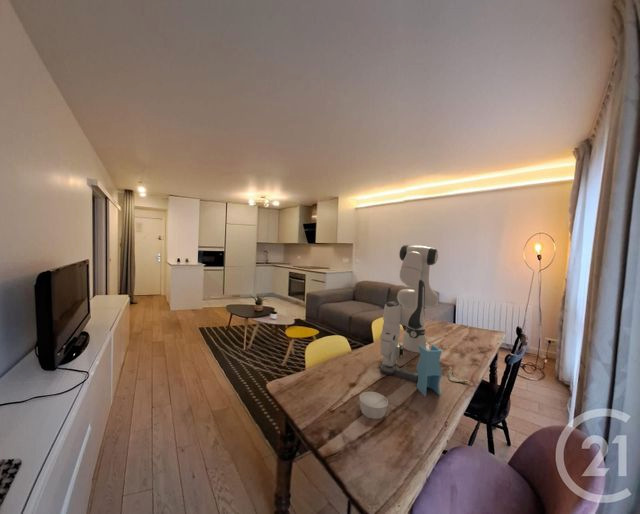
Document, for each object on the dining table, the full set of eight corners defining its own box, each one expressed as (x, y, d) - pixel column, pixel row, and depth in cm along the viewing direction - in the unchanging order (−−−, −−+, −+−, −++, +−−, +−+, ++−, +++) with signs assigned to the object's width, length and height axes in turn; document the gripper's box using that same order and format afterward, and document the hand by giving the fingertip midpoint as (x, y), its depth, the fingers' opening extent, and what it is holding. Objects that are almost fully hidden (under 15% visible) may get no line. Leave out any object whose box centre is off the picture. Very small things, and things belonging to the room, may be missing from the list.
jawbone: (453, 386, 131) (453, 382, 131) (434, 368, 151) (434, 364, 151) (471, 386, 131) (471, 381, 131) (450, 367, 151) (450, 364, 151)
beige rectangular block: (385, 360, 144) (386, 347, 144) (395, 362, 141) (396, 349, 141) (382, 363, 139) (383, 350, 139) (392, 366, 137) (393, 352, 136)
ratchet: (383, 367, 146) (384, 353, 146) (431, 380, 133) (432, 366, 133) (378, 372, 139) (379, 358, 139) (428, 387, 126) (429, 372, 126)
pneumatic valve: (402, 366, 148) (403, 345, 147) (380, 364, 150) (382, 342, 150) (401, 362, 153) (402, 342, 153) (380, 360, 156) (381, 339, 155)
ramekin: (388, 423, 99) (389, 409, 99) (358, 418, 101) (358, 405, 100) (386, 406, 110) (387, 393, 110) (358, 402, 112) (359, 389, 111)
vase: (430, 385, 128) (433, 344, 128) (440, 394, 120) (443, 351, 120) (415, 386, 127) (417, 344, 126) (424, 395, 119) (427, 351, 118)
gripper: (390, 327, 150) (389, 351, 151) (378, 336, 133) (377, 364, 133) (402, 329, 147) (400, 354, 147) (391, 339, 129) (389, 367, 130)
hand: (389, 358), depth 140 cm, fingers closed on beige rectangular block, 5 cm apart
